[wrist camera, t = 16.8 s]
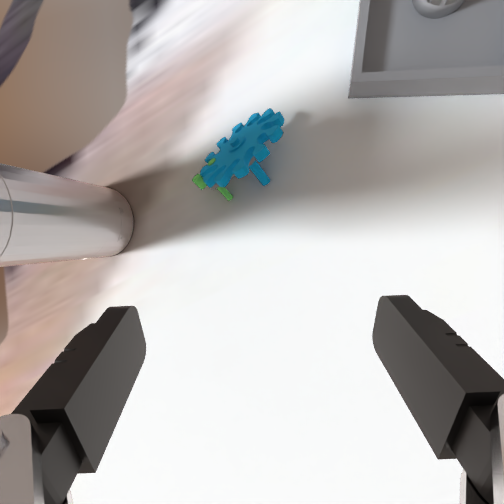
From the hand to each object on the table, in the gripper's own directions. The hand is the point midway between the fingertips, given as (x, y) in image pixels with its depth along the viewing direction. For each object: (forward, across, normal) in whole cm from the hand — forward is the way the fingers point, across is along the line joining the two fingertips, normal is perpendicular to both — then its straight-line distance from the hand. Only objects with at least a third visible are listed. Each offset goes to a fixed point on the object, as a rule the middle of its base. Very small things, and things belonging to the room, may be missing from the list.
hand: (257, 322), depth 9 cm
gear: (+26, 0, -2) cm, 26 cm away
